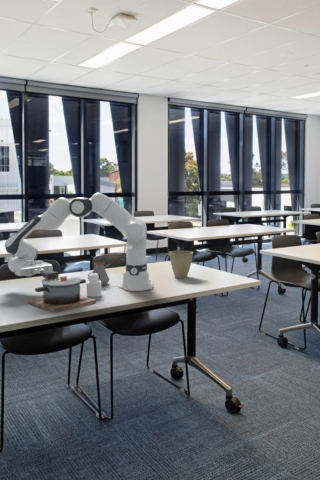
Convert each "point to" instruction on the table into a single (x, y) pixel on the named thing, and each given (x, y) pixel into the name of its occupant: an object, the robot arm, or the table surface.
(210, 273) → the table surface
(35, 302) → the trivet
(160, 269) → the table surface
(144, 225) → the robot arm
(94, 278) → the medicine bottle
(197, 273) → the table surface
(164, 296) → the table surface
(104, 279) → the coffee pot
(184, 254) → the plant pot
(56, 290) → the cooker pot
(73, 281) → the lid
